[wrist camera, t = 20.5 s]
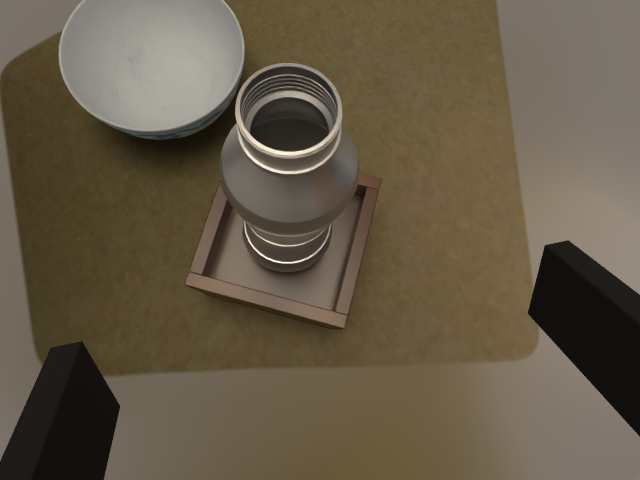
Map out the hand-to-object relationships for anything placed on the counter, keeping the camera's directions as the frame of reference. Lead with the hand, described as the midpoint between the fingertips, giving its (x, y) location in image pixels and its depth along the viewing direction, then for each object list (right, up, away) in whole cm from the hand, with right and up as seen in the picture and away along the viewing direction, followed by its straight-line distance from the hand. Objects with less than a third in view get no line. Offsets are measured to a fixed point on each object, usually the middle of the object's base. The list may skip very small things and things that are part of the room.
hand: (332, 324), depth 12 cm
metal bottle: (-3, +3, +22) cm, 22 cm away
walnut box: (-3, +1, +28) cm, 28 cm away
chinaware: (-15, +17, +30) cm, 38 cm away
